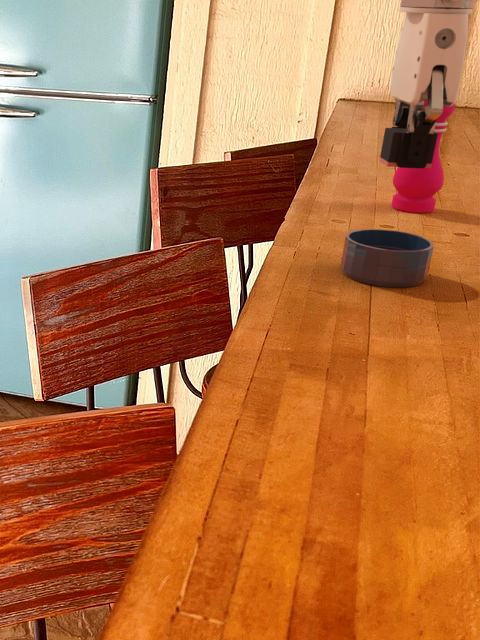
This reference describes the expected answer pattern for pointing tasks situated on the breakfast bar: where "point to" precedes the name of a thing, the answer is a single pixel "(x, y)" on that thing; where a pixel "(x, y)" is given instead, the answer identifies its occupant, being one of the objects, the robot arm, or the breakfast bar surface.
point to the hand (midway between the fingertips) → (405, 162)
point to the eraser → (393, 145)
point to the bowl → (386, 257)
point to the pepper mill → (421, 177)
